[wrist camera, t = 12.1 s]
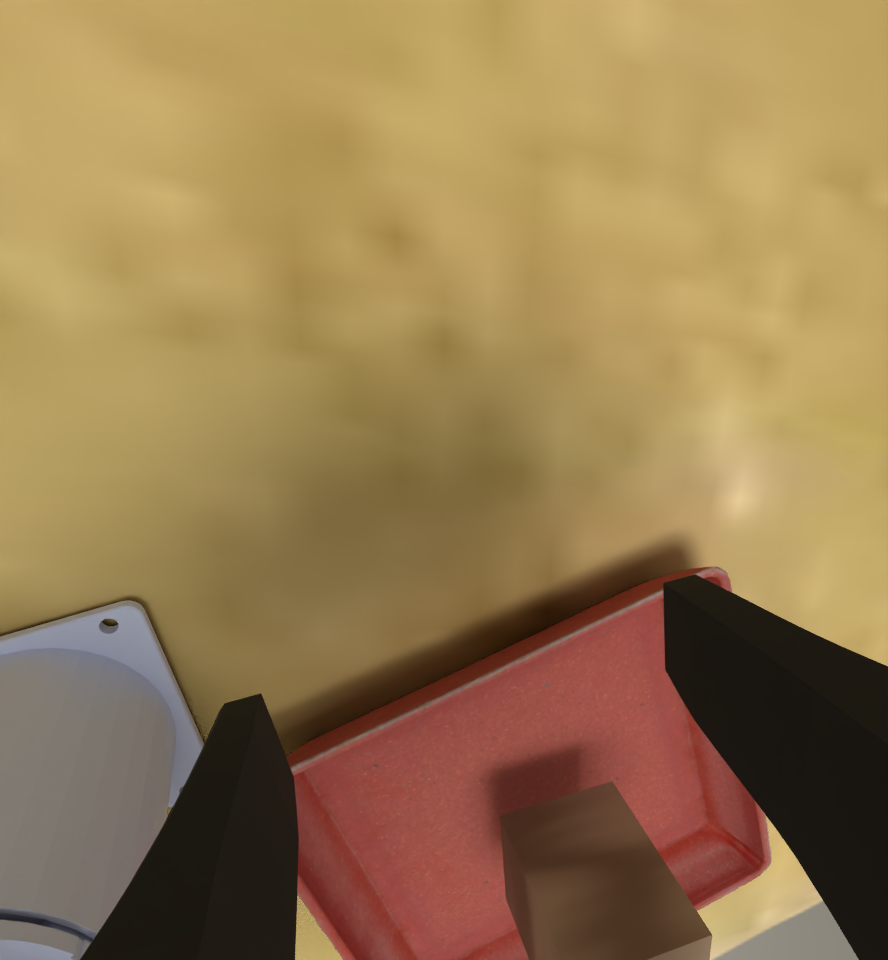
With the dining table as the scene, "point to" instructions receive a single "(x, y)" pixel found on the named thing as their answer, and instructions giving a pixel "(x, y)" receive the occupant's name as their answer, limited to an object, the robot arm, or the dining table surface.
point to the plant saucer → (512, 785)
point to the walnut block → (594, 884)
